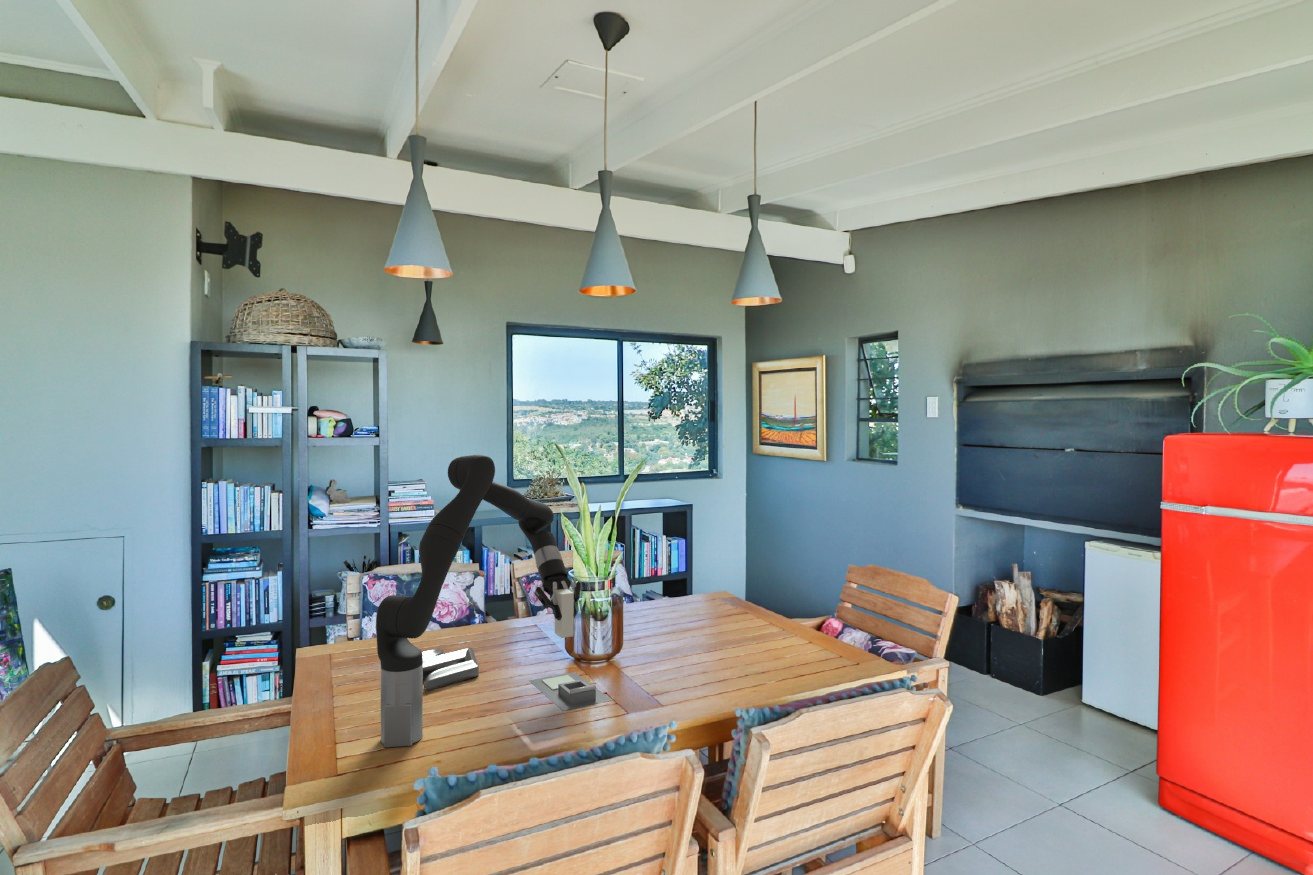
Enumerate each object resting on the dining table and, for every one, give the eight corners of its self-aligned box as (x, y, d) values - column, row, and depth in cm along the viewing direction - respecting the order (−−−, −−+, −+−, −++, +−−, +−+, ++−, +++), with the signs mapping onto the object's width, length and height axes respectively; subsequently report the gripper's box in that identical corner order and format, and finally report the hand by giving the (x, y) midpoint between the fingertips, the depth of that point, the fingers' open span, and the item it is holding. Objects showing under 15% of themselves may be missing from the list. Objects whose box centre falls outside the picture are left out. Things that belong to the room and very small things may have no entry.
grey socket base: (562, 715, 182) (563, 696, 182) (528, 684, 203) (528, 667, 202) (612, 704, 189) (612, 686, 189) (574, 675, 210) (574, 659, 210)
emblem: (415, 638, 227) (498, 645, 221) (415, 655, 227) (498, 662, 222) (361, 668, 200) (454, 677, 194) (361, 687, 200) (454, 697, 194)
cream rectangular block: (561, 637, 196) (561, 594, 196) (554, 632, 201) (554, 590, 200) (573, 635, 198) (573, 592, 197) (566, 631, 202) (566, 588, 202)
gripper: (530, 560, 201) (546, 614, 191) (576, 555, 208) (594, 607, 198) (523, 575, 206) (539, 628, 196) (569, 569, 213) (586, 621, 203)
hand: (566, 617), depth 197 cm, fingers closed on cream rectangular block, 3 cm apart
